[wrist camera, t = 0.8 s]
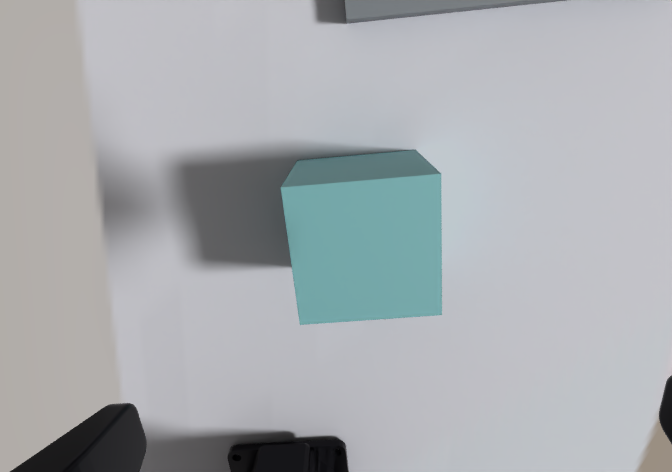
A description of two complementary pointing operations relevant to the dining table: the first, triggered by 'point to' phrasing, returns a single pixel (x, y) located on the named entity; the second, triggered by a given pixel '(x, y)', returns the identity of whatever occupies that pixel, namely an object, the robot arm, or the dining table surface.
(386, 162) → the teal cube
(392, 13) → the slate board
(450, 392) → the dining table surface
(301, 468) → the robot arm
